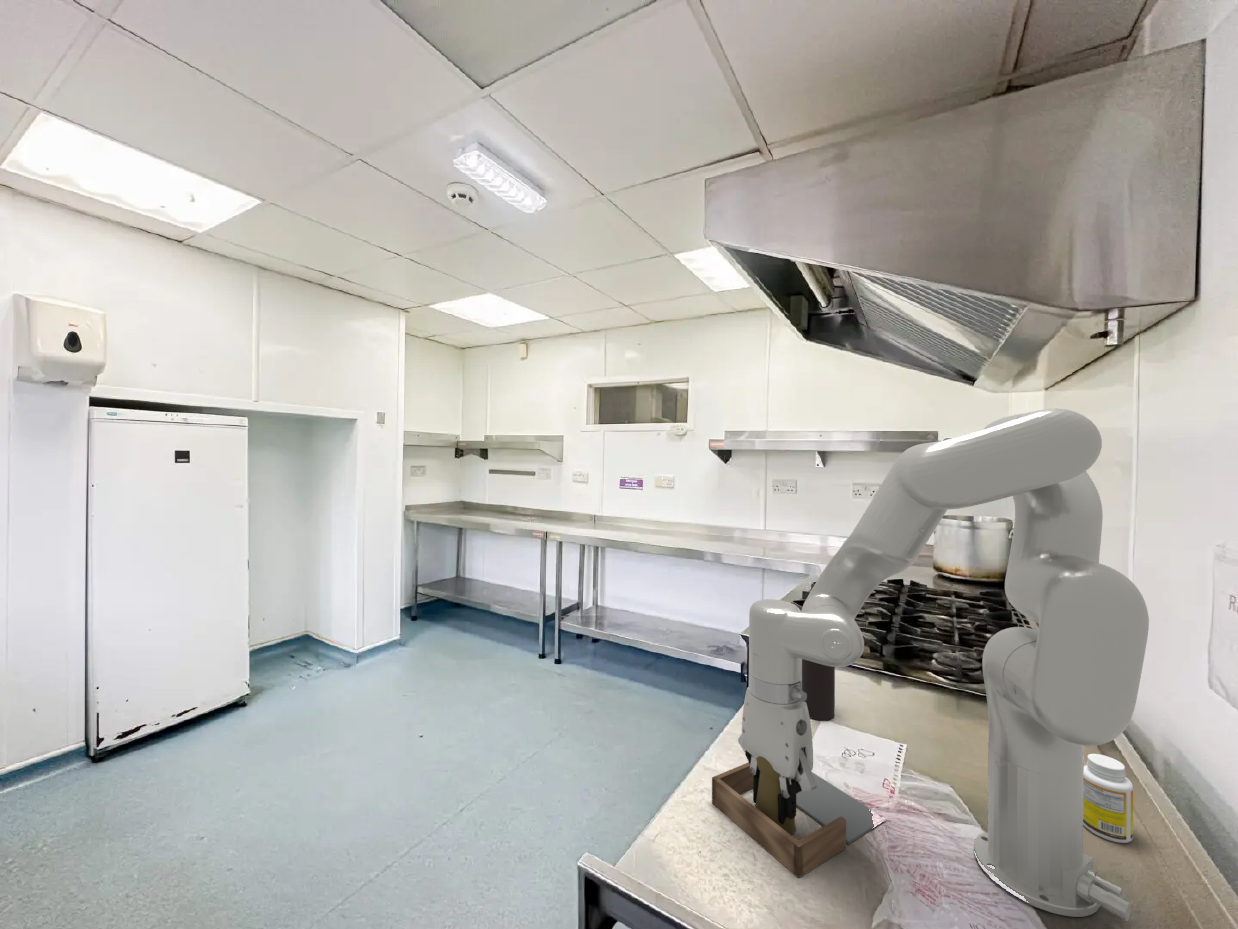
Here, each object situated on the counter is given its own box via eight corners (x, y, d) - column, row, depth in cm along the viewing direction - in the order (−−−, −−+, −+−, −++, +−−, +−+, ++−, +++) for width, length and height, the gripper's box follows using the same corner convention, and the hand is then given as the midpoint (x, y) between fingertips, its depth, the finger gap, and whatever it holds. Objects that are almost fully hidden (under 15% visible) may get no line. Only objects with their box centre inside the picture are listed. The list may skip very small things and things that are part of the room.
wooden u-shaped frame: (846, 848, 69) (846, 819, 69) (798, 878, 64) (798, 847, 64) (756, 782, 83) (756, 759, 83) (711, 802, 78) (712, 777, 78)
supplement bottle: (1102, 816, 76) (1102, 749, 76) (1144, 844, 70) (1144, 771, 70) (1069, 818, 75) (1069, 751, 75) (1109, 847, 70) (1109, 773, 70)
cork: (790, 812, 76) (790, 740, 76) (800, 841, 70) (801, 764, 70) (750, 809, 77) (750, 738, 77) (757, 838, 71) (757, 761, 71)
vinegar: (836, 710, 108) (837, 618, 108) (832, 724, 102) (832, 627, 102) (803, 703, 112) (804, 613, 112) (797, 716, 106) (798, 622, 106)
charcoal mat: (885, 821, 75) (885, 818, 75) (848, 844, 70) (848, 841, 70) (798, 765, 88) (798, 763, 88) (762, 782, 84) (762, 779, 84)
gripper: (841, 703, 69) (840, 837, 68) (751, 662, 83) (750, 772, 83) (805, 717, 65) (804, 858, 65) (717, 671, 79) (716, 786, 79)
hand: (774, 808), depth 74 cm, fingers closed on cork, 4 cm apart
